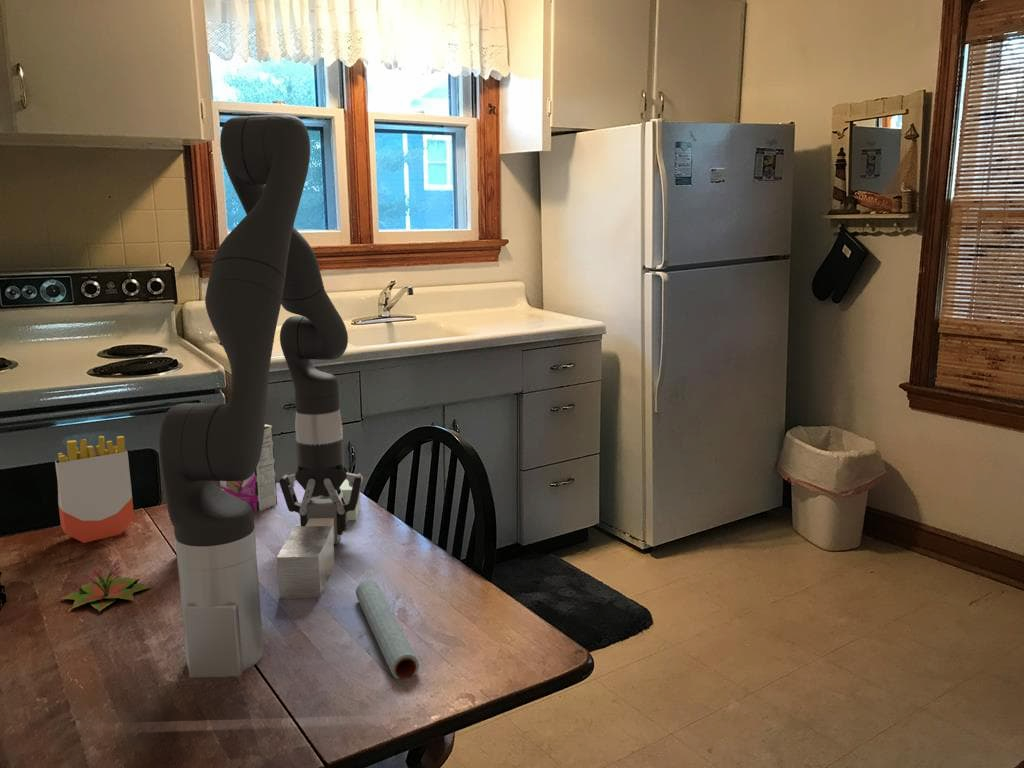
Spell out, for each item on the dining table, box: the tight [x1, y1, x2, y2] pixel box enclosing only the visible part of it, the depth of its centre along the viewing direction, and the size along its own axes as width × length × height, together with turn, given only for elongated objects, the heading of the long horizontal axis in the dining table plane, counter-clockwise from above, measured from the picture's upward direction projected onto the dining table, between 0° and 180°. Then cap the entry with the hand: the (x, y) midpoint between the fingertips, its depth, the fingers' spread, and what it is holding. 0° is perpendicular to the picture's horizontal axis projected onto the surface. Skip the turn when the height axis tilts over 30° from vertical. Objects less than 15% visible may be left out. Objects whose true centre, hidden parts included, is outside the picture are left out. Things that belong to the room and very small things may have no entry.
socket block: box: [312, 479, 362, 521], centre depth 152 cm, size 8×6×6 cm
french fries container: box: [54, 435, 135, 544], centre depth 143 cm, size 5×11×18 cm, turn 128°
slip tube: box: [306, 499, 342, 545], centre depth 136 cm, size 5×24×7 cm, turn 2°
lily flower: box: [59, 562, 152, 612], centre depth 123 cm, size 12×12×5 cm
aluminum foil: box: [355, 579, 420, 680], centre depth 110 cm, size 23×7×3 cm, turn 21°
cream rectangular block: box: [276, 526, 335, 600], centre depth 126 cm, size 6×12×6 cm, turn 2°
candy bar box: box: [218, 423, 278, 512], centre depth 158 cm, size 11×5×16 cm, turn 58°
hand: (324, 533), depth 141 cm, fingers closed on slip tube, 4 cm apart
